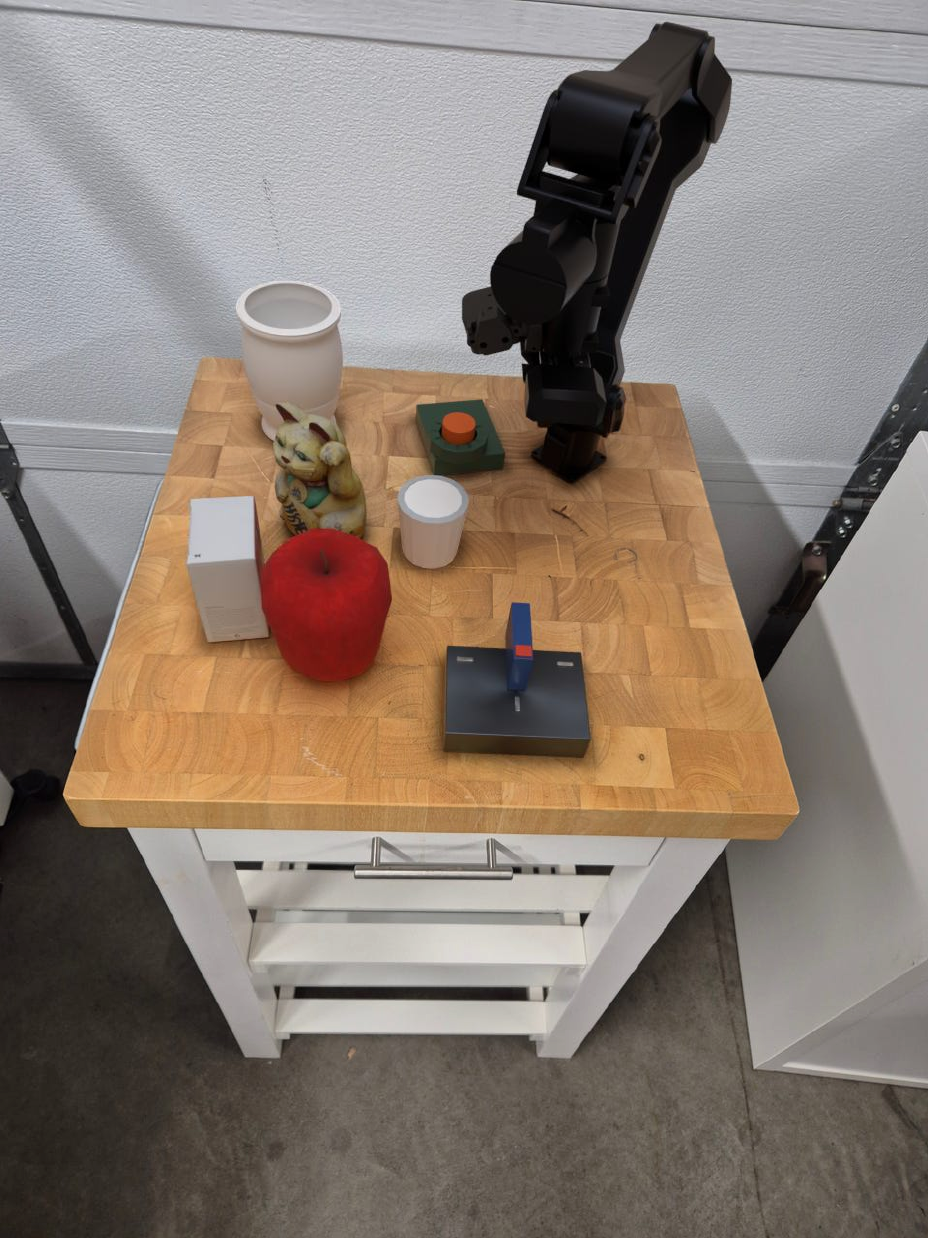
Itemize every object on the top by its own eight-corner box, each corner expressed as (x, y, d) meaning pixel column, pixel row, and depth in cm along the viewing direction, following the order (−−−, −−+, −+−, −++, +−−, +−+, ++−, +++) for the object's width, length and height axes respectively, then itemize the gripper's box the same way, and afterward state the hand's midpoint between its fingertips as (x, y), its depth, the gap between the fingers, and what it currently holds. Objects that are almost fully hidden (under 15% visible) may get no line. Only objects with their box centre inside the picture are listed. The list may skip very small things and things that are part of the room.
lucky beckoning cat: (264, 530, 83) (245, 407, 71) (316, 487, 88) (306, 365, 76) (339, 572, 80) (332, 451, 69) (389, 525, 85) (390, 405, 73)
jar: (363, 421, 95) (361, 302, 84) (306, 468, 89) (296, 346, 78) (292, 387, 98) (281, 268, 87) (233, 429, 92) (212, 307, 81)
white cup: (455, 579, 81) (461, 529, 75) (388, 565, 81) (389, 514, 76) (469, 532, 85) (475, 481, 80) (405, 519, 86) (407, 467, 80)
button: (438, 426, 90) (439, 413, 89) (469, 423, 91) (471, 410, 90) (445, 447, 88) (446, 434, 87) (477, 444, 89) (479, 431, 87)
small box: (269, 639, 74) (256, 560, 66) (206, 644, 73) (184, 564, 65) (268, 574, 79) (255, 493, 71) (208, 578, 78) (189, 496, 70)
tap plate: (571, 640, 77) (578, 619, 75) (584, 757, 69) (591, 738, 67) (445, 634, 76) (447, 612, 74) (443, 751, 68) (445, 732, 66)
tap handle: (505, 634, 73) (511, 600, 69) (522, 635, 73) (530, 601, 69) (507, 689, 69) (514, 656, 66) (525, 690, 69) (533, 657, 66)
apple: (272, 708, 70) (254, 606, 59) (271, 616, 76) (254, 509, 66) (395, 697, 71) (398, 596, 61) (384, 608, 78) (385, 503, 67)
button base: (413, 420, 96) (414, 392, 93) (480, 414, 98) (483, 386, 95) (433, 482, 90) (435, 454, 86) (505, 475, 91) (509, 447, 88)
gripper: (471, 203, 70) (457, 362, 82) (472, 321, 58) (456, 487, 70) (599, 213, 71) (567, 369, 83) (626, 333, 59) (584, 494, 71)
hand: (542, 425), depth 76 cm, fingers closed
